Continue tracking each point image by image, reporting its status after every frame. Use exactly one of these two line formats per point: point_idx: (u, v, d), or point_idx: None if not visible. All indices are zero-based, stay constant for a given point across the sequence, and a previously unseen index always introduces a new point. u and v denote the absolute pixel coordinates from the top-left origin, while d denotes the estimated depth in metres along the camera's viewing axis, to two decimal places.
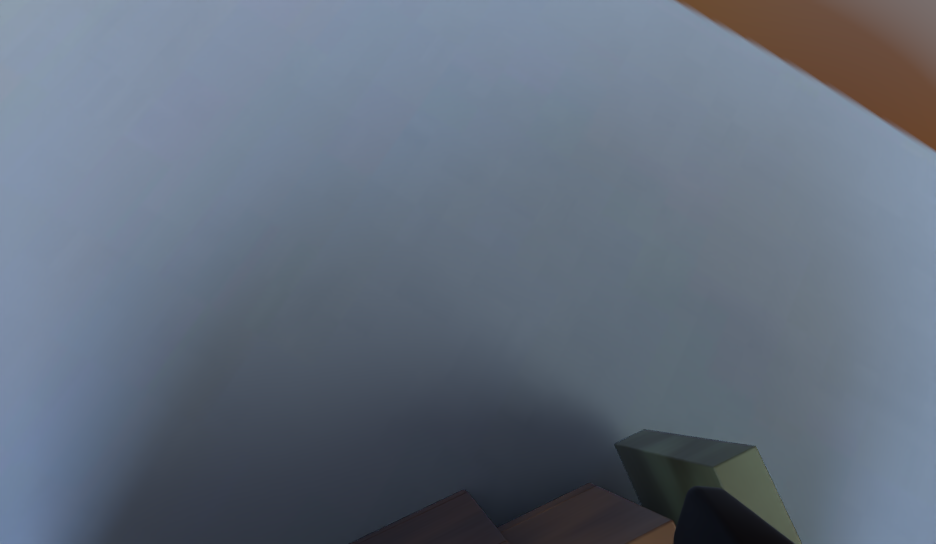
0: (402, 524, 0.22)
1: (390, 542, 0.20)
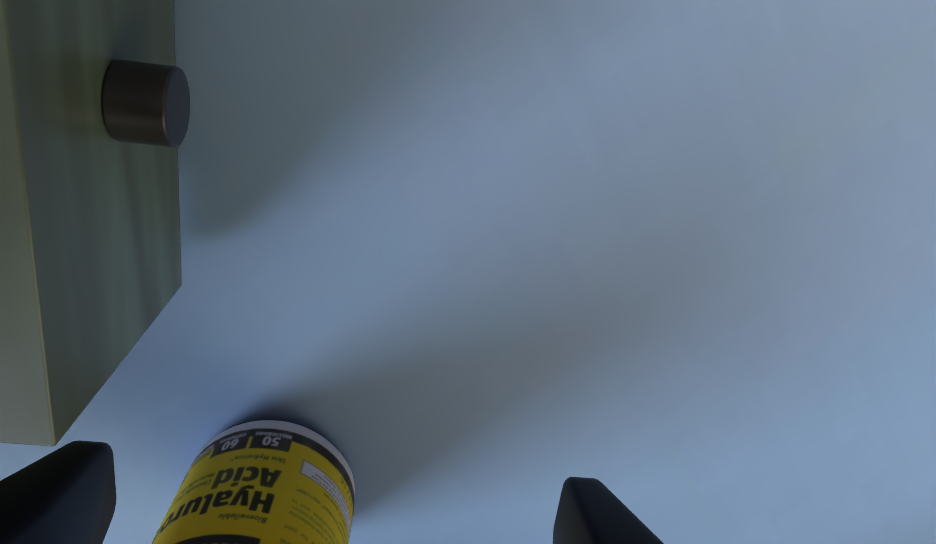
0: None
1: None
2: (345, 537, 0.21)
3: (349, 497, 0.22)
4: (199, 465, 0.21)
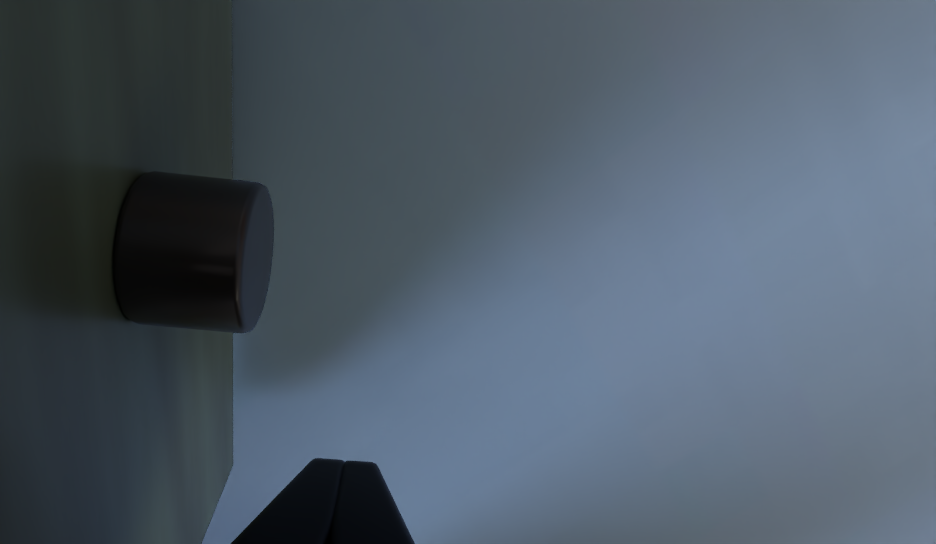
0: None
1: None
2: None
3: None
4: None
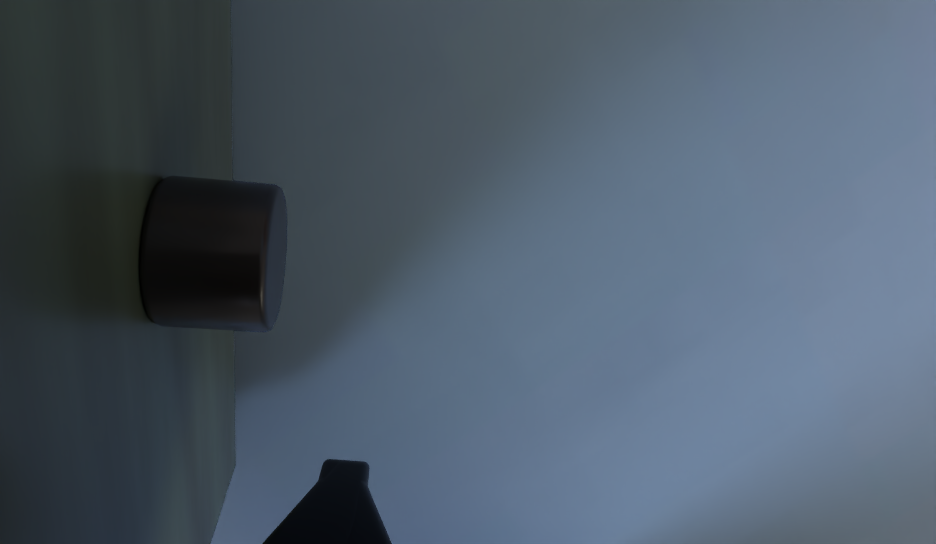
0: None
1: None
2: None
3: None
4: None
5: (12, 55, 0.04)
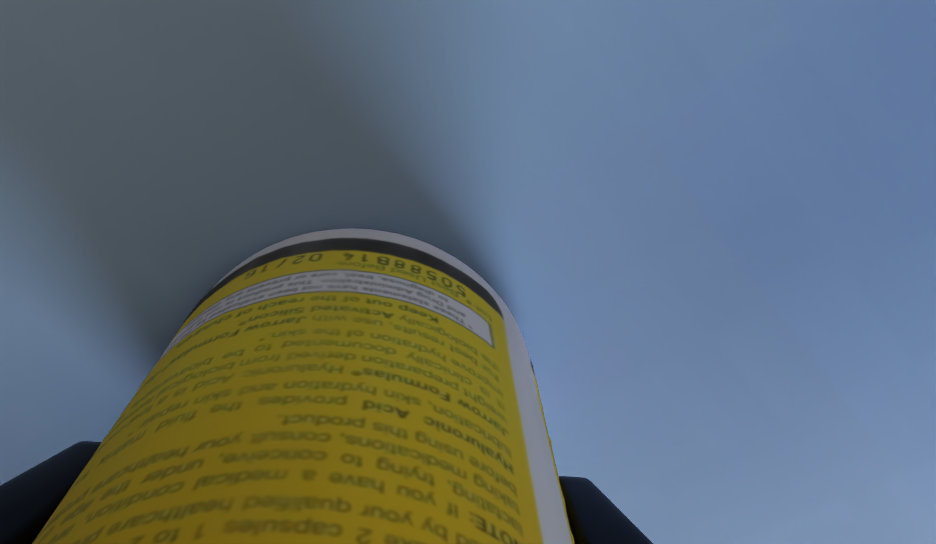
0: None
1: None
2: (297, 309, 0.08)
3: (295, 261, 0.09)
4: None
5: None
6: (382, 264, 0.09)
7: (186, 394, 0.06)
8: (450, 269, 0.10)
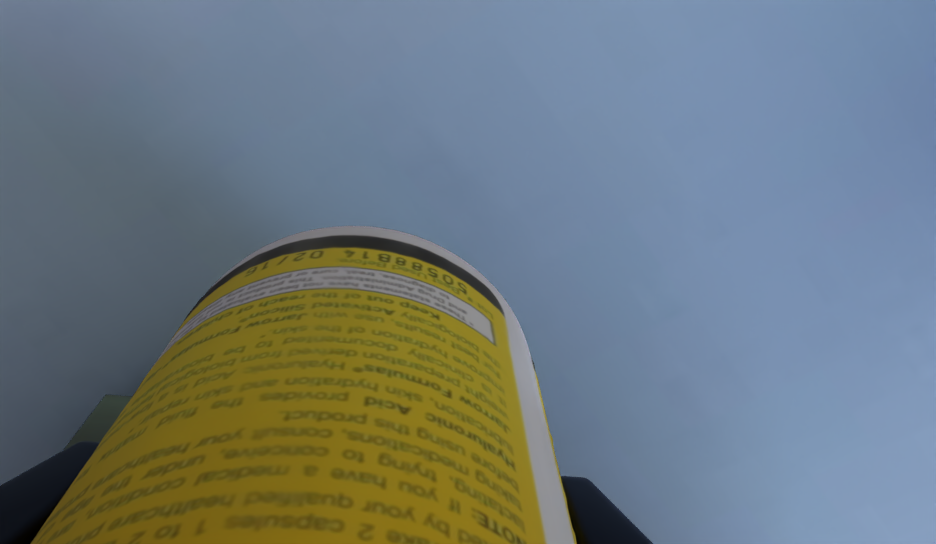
0: None
1: None
2: (298, 306, 0.08)
3: (296, 258, 0.09)
4: None
5: None
6: (383, 261, 0.09)
7: (188, 390, 0.06)
8: (452, 266, 0.10)
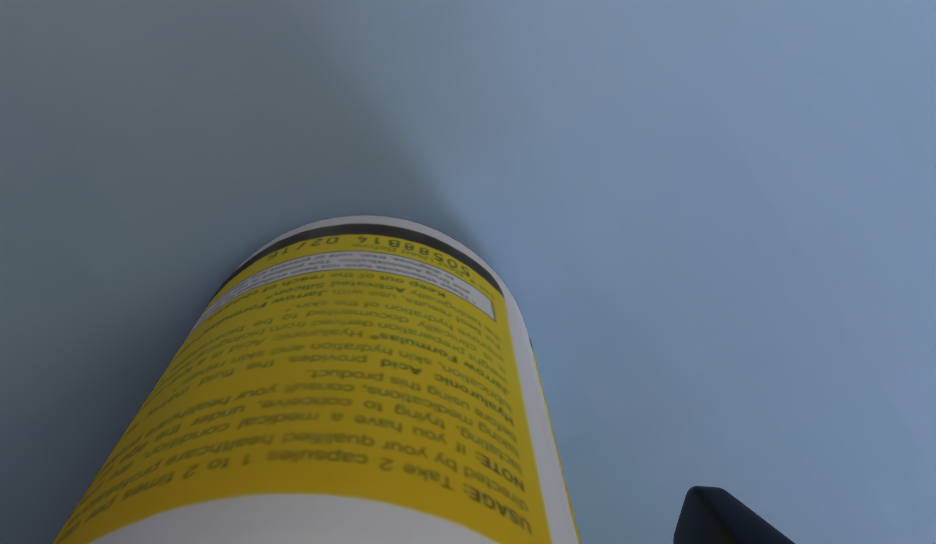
0: None
1: None
2: (318, 285, 0.08)
3: (314, 243, 0.10)
4: None
5: None
6: (393, 246, 0.10)
7: (223, 356, 0.07)
8: (456, 252, 0.10)
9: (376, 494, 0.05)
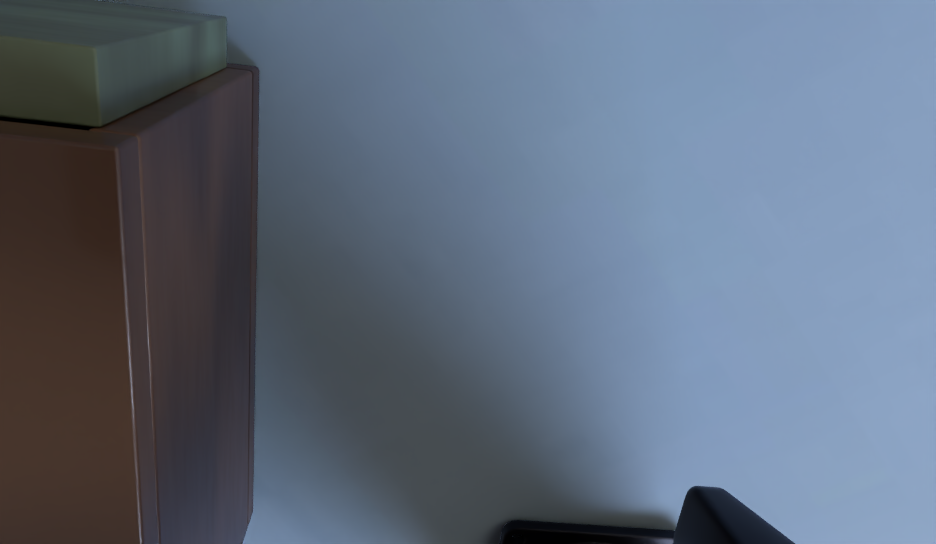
0: None
1: None
2: None
3: None
4: None
5: None
6: None
7: None
8: None
9: None
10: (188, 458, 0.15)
